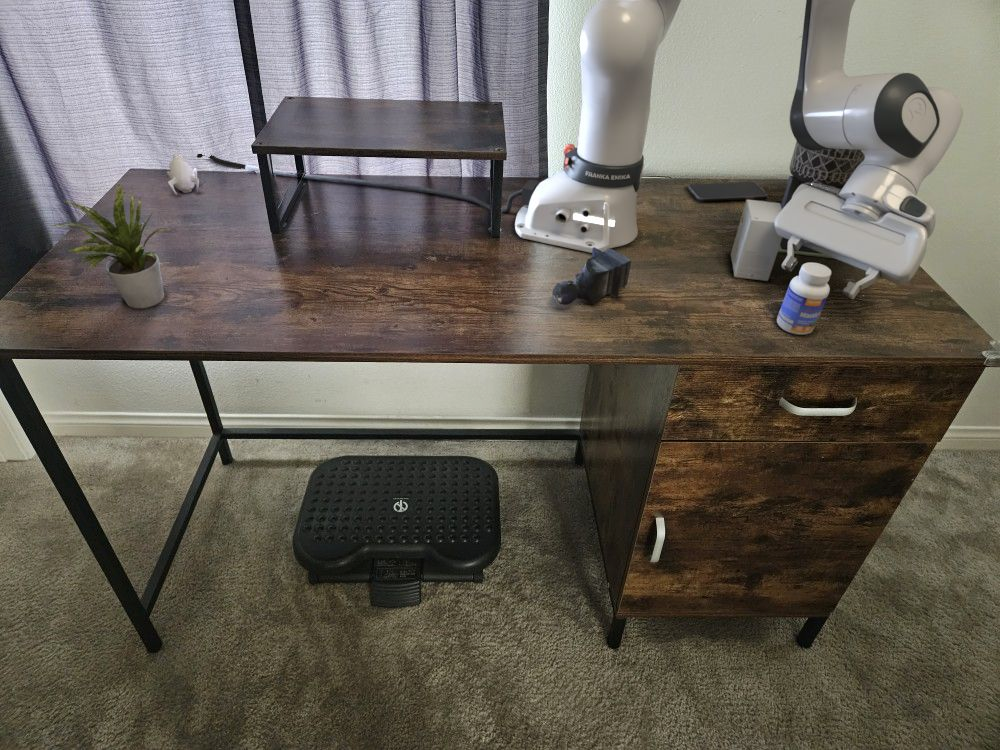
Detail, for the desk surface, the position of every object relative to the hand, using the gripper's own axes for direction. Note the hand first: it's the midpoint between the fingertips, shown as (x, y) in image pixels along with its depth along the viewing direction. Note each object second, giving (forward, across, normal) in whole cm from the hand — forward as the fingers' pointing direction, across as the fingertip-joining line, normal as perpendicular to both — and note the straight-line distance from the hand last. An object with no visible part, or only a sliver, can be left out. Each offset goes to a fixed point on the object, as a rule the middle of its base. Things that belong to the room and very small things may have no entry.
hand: (815, 282), depth 94 cm
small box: (-1, -14, +11) cm, 18 cm away
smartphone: (-17, -33, +27) cm, 46 cm away
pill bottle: (+6, 0, +4) cm, 7 cm away
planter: (-20, -18, +30) cm, 40 cm away
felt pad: (-12, -13, +22) cm, 28 cm away
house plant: (+56, -69, -46) cm, 100 cm away
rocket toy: (+42, -101, -33) cm, 114 cm away
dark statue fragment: (+19, -25, -9) cm, 33 cm away
